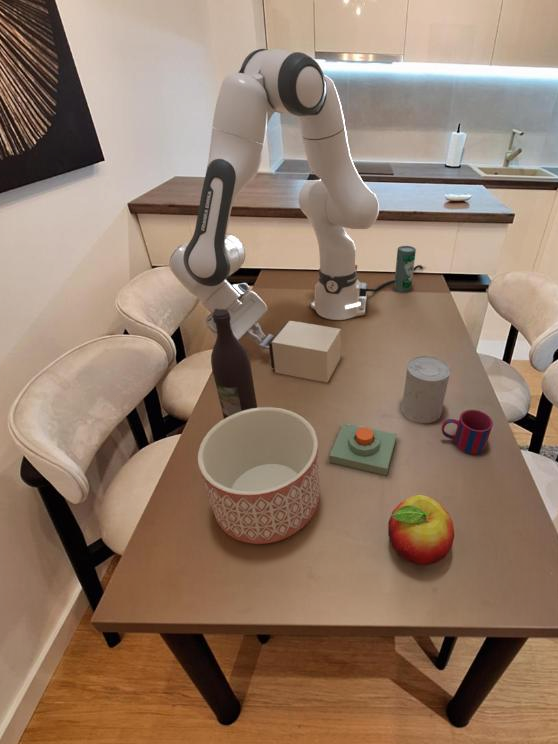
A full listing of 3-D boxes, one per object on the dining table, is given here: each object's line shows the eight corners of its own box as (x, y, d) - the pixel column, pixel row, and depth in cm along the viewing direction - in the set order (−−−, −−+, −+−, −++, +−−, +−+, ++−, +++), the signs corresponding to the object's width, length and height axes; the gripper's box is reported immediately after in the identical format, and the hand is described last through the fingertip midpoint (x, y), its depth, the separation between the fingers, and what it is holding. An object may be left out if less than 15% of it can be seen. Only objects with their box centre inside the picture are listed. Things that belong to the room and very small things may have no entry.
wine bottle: (226, 429, 89) (197, 306, 70) (257, 421, 91) (237, 300, 73) (231, 451, 84) (202, 325, 65) (265, 442, 86) (245, 318, 67)
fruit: (457, 573, 64) (469, 539, 58) (390, 578, 63) (396, 544, 57) (440, 515, 73) (449, 480, 66) (381, 518, 72) (385, 483, 66)
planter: (330, 533, 69) (330, 478, 60) (216, 562, 65) (196, 507, 56) (308, 452, 84) (305, 399, 75) (213, 472, 79) (197, 417, 70)
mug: (486, 456, 84) (494, 433, 80) (438, 449, 86) (443, 426, 81) (484, 434, 89) (491, 412, 85) (439, 427, 91) (444, 405, 87)
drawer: (256, 365, 107) (253, 340, 102) (273, 345, 115) (270, 321, 110) (319, 377, 103) (319, 352, 98) (332, 355, 111) (331, 331, 106)
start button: (358, 431, 84) (358, 425, 83) (374, 435, 83) (375, 429, 82) (353, 443, 81) (353, 437, 80) (370, 447, 81) (371, 441, 79)
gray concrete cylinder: (417, 391, 101) (424, 351, 93) (449, 410, 96) (459, 368, 88) (393, 408, 95) (398, 367, 88) (425, 429, 90) (433, 386, 83)
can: (408, 293, 146) (413, 252, 137) (392, 290, 148) (396, 250, 138) (412, 287, 150) (417, 247, 141) (396, 284, 152) (400, 244, 143)
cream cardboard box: (275, 372, 106) (271, 342, 100) (291, 350, 115) (289, 320, 109) (327, 382, 103) (327, 351, 97) (340, 358, 112) (340, 328, 106)
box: (343, 429, 90) (343, 416, 87) (395, 441, 87) (397, 427, 85) (329, 462, 82) (329, 449, 79) (386, 475, 80) (388, 462, 77)
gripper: (208, 314, 94) (251, 356, 98) (249, 280, 110) (284, 318, 114) (195, 327, 98) (237, 367, 102) (236, 292, 113) (271, 328, 118)
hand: (262, 340), depth 108 cm, fingers closed, pressing on drawer
